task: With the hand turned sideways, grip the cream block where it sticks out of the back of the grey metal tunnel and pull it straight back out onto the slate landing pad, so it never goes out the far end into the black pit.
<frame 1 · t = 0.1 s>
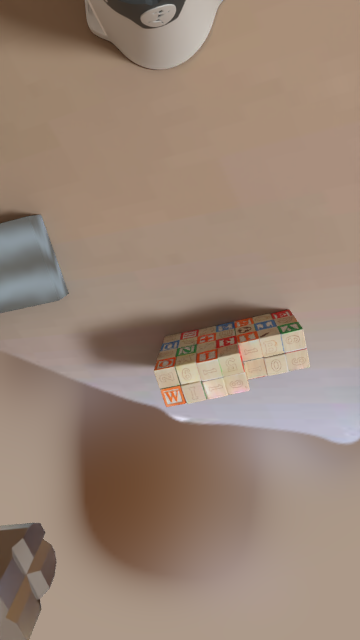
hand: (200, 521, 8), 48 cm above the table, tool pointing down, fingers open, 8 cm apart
stack of blocks: (228, 338, 59), on the table
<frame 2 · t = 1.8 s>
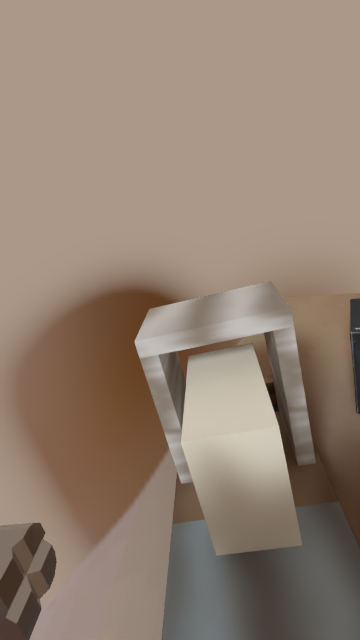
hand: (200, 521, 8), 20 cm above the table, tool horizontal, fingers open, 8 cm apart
cream block: (248, 482, 30), point 4 cm above the table, touching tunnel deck
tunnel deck: (255, 511, 31), on the table
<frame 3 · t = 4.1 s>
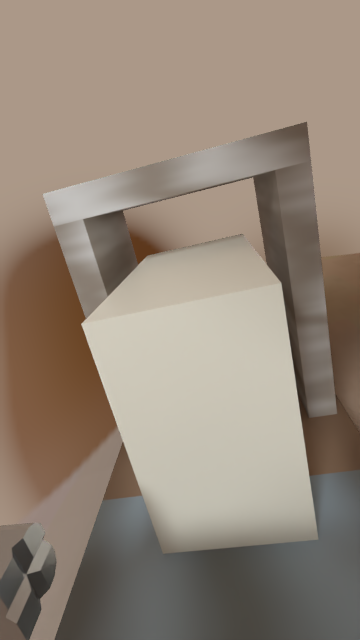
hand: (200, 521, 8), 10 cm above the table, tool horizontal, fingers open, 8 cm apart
cream block: (229, 441, 19), point 4 cm above the table, touching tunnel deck
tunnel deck: (241, 489, 21), on the table
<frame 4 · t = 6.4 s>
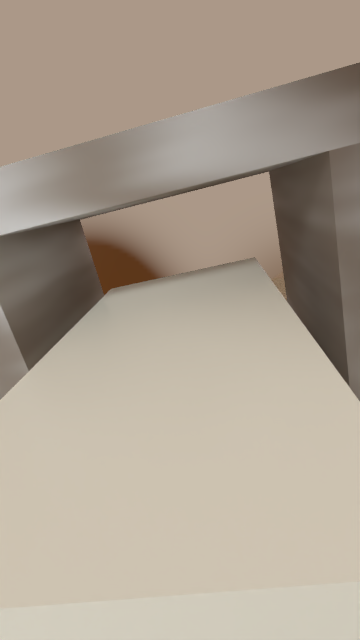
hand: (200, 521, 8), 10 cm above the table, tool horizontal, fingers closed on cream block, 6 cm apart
cream block: (236, 598, 12), point 4 cm above the table, touching gripper, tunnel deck
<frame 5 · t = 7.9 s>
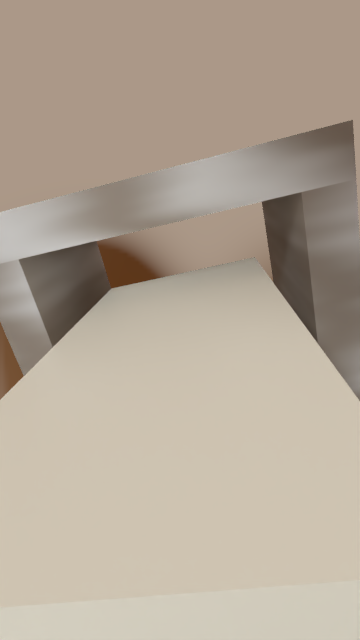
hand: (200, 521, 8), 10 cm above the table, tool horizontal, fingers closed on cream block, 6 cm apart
cream block: (236, 598, 12), point 5 cm above the table, touching gripper
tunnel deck: (245, 605, 16), on the table
when the fingers open (10 cm above the table, at t = 9.8 s): cream block stays where it is, resting on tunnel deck.
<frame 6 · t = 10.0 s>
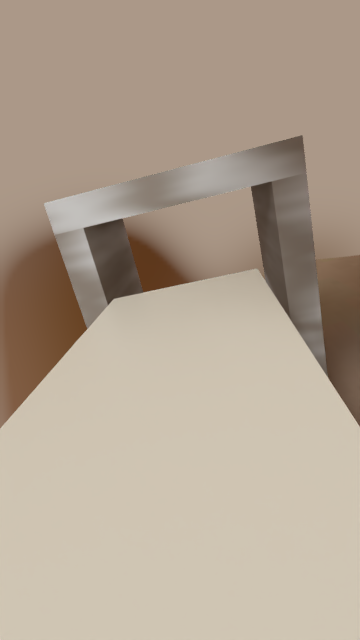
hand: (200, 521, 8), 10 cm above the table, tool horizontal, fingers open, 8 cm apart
cream block: (238, 610, 12), point 4 cm above the table, touching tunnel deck
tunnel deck: (238, 492, 21), on the table
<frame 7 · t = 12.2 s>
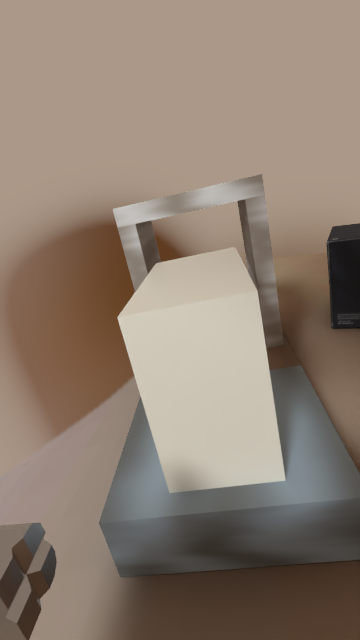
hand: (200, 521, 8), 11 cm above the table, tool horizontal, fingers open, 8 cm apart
cream block: (221, 415, 23), point 4 cm above the table, touching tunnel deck
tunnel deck: (225, 395, 33), on the table
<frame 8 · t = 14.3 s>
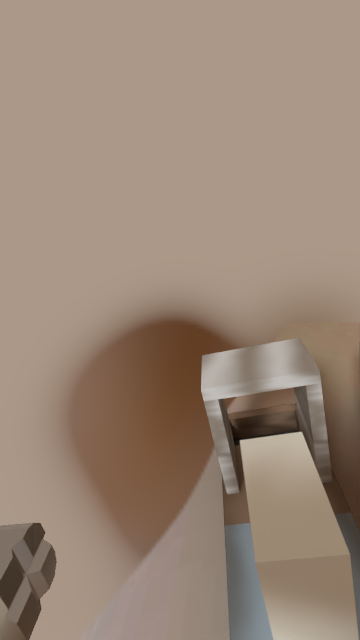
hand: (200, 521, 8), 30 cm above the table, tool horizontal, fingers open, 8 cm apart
cream block: (297, 569, 31), point 4 cm above the table, touching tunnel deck
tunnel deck: (284, 517, 41), on the table
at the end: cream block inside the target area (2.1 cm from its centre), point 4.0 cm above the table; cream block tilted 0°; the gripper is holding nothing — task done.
